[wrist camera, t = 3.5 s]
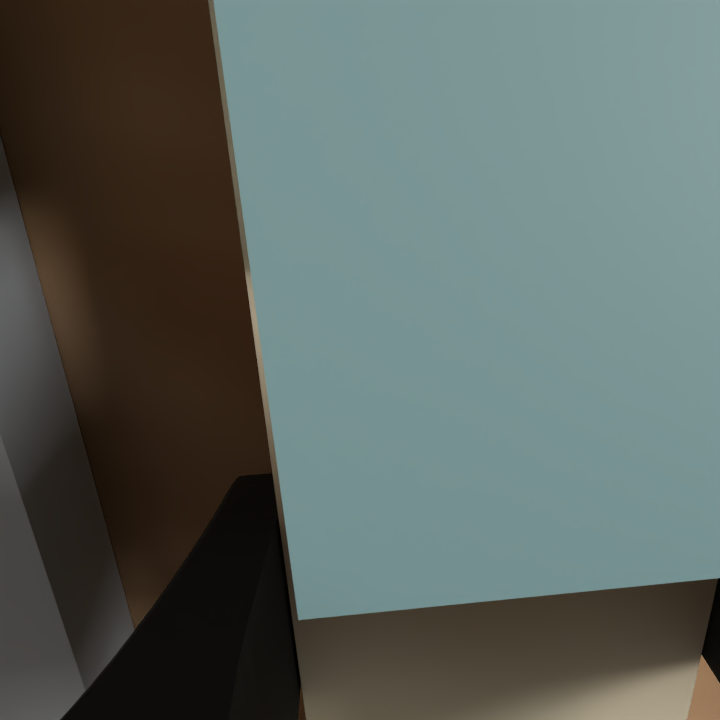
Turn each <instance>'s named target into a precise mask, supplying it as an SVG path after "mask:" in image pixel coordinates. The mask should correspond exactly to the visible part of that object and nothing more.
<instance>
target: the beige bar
mask: <svg viewBox="0 0 720 720" xmlns="http://www.w3.org/2000/svg"><path fill="white" fill-rule="evenodd" d="M208 4H209V11H210V18H211V26H212V33H213V40H214V48H215V55H216V62H217V70H218V77H219V84H220V92H221V99H222V106H223V114H224V121H225V128H226V136H227V143H228V150H229V158H230V165H231V172H232V180H233V187H234V194H235V202H236V209H237V216H238V224H239V231H240V238H241V246H242V253H243V261H244V268H245V275H246V283H247V290H248V297H249V305H250V312H251V319H252V327H253V334H254V341H255V349H256V356H257V363H258V371H259V378H260V385H261V393H262V400H263V407H264V415H265V422H266V429H267V437H268V444H269V451H270V459H271V466H272V473H273V481H274V488H275V495H276V503H277V510H278V517H279V525H280V532H281V539H282V547H283V554H284V561H285V569H286V576H287V583H288V591H289V598H290V605H291V613H292V620H293V628H294V635H295V642H296V650H297V657H298V664H299V672H300V679H301V686H302V694H303V701H304V708H305V716H306V720H687V717H688V712H689V708H690V703H691V699H692V694H693V690H694V685H695V681H696V676H697V672H698V667H699V663H700V658H701V654H702V649H703V645H704V640H705V636H706V631H707V627H708V622H709V618H710V613H711V609H712V604H713V600H714V595H715V591H716V586H717V582H718V578H716V579H705V580H695V581H685V582H675V583H665V584H655V585H645V586H635V587H625V588H615V589H605V590H595V591H585V592H575V593H565V594H555V595H545V596H535V597H525V598H515V599H505V600H495V601H485V602H475V603H465V604H455V605H445V606H435V607H425V608H415V609H405V610H395V611H385V612H375V613H365V614H355V615H345V616H335V617H325V618H315V619H305V620H298V614H297V607H296V599H295V592H294V585H293V577H292V570H291V563H290V556H289V548H288V541H287V534H286V526H285V519H284V512H283V504H282V497H281V490H280V483H279V475H278V468H277V461H276V453H275V446H274V439H273V432H272V424H271V417H270V410H269V402H268V395H267V388H266V380H265V373H264V366H263V359H262V351H261V344H260V337H259V329H258V322H257V315H256V308H255V300H254V293H253V286H252V278H251V271H250V264H249V256H248V249H247V242H246V235H245V227H244V220H243V213H242V205H241V198H240V191H239V184H238V176H237V169H236V162H235V154H234V147H233V140H232V132H231V125H230V118H229V111H228V103H227V96H226V89H225V81H224V74H223V67H222V60H221V52H220V45H219V38H218V30H217V23H216V16H215V8H214V1H213V0H208Z"/></svg>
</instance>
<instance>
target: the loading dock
mask: <svg viewBox="0 0 720 720" xmlns="http://www.w3.org/2000/svg"><path fill="white" fill-rule="evenodd" d="M133 631H134V626H133V623H132V619H131V615H130V612H129V608H128V604H127V601H126V597H125V593H124V590H123V586H122V582H121V579H120V575H119V571H118V567H117V564H116V560H115V556H114V553H113V549H112V545H111V542H110V538H109V534H108V531H107V527H106V523H105V520H104V516H103V512H102V509H101V505H100V501H99V497H98V494H97V490H96V486H95V483H94V479H93V475H92V472H91V468H90V464H89V461H88V457H87V453H86V450H85V446H84V442H83V439H82V435H81V431H80V427H79V424H78V420H77V416H76V413H75V409H74V405H73V402H72V398H71V394H70V391H69V387H68V383H67V380H66V376H65V372H64V369H63V365H62V361H61V357H60V354H59V350H58V346H57V343H56V339H55V335H54V332H53V328H52V324H51V321H50V317H49V313H48V310H47V306H46V302H45V299H44V295H43V291H42V288H41V284H40V280H39V276H38V273H37V269H36V265H35V262H34V258H33V254H32V251H31V247H30V243H29V240H28V236H27V232H26V229H25V225H24V221H23V218H22V214H21V210H20V206H19V203H18V199H17V195H16V192H15V188H14V184H13V181H12V177H11V173H10V170H9V166H8V162H7V159H6V155H5V151H4V148H3V144H2V140H1V136H0V720H60V719H61V718H62V717H63V716H64V715H65V714H66V712H67V711H68V710H69V709H70V708H71V707H72V706H73V705H74V704H75V702H76V701H77V700H78V699H79V698H80V697H81V695H82V694H83V693H84V692H85V691H86V690H87V689H88V687H89V686H90V685H91V684H92V683H93V681H94V680H95V679H96V678H97V677H98V675H99V674H100V673H101V672H102V671H103V669H104V668H105V667H106V666H107V665H108V663H109V662H110V661H111V660H112V659H113V657H114V656H115V655H116V654H117V652H118V651H119V650H120V648H121V647H122V646H123V644H124V643H125V642H126V641H127V639H128V638H129V637H130V635H131V634H132V633H133Z"/></svg>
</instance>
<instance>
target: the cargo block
mask: <svg viewBox="0 0 720 720" xmlns="http://www.w3.org/2000/svg"><path fill="white" fill-rule="evenodd" d="M213 1H214V8H215V16H216V23H217V30H218V38H219V45H220V52H221V60H222V67H223V74H224V81H225V89H226V96H227V103H228V111H229V118H230V125H231V132H232V140H233V147H234V154H235V162H236V169H237V176H238V184H239V191H240V198H241V205H242V213H243V220H244V227H245V235H246V242H247V249H248V256H249V264H250V271H251V278H252V286H253V293H254V300H255V308H256V315H257V322H258V329H259V337H260V344H261V351H262V359H263V366H264V373H265V380H266V388H267V395H268V402H269V410H270V417H271V424H272V432H273V439H274V446H275V453H276V461H277V468H278V475H279V483H280V490H281V497H282V504H283V512H284V519H285V526H286V534H287V541H288V548H289V556H290V563H291V570H292V577H293V585H294V592H295V599H296V607H297V614H298V620H305V619H315V618H325V617H335V616H345V615H355V614H365V613H375V612H385V611H395V610H405V609H415V608H425V607H435V606H445V605H455V604H465V603H475V602H485V601H495V600H505V599H515V598H525V597H535V596H545V595H555V594H565V593H575V592H585V591H595V590H605V589H615V588H625V587H635V586H645V585H655V584H665V583H675V582H685V581H695V580H705V579H716V578H720V0H213Z"/></svg>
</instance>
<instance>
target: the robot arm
mask: <svg viewBox="0 0 720 720" xmlns="http://www.w3.org/2000/svg"><path fill="white" fill-rule="evenodd" d="M702 656H703V657H704V659H705V660H706V662H707V664H708V665H709V667H710V668H711V670H712V671H713V673H714V675H715V676H716V678H717V679H718V681H719V682H720V578H718V582H717V586H716V591H715V595H714V600H713V604H712V609H711V613H710V618H709V622H708V627H707V631H706V636H705V640H704V645H703V649H702ZM300 686H301V679H300V672H299V664H298V657H297V650H296V642H295V635H294V628H293V620H292V613H291V605H290V598H289V591H288V583H287V576H286V569H285V561H284V554H283V547H282V539H281V532H280V525H279V517H278V510H277V503H276V495H275V488H274V481H273V473H271V474H259V475H247V476H239V477H238V478H237V479H236V481H235V482H234V483H233V484H232V485H231V487H230V489H229V491H228V492H227V494H226V496H225V498H224V499H223V501H222V503H221V504H220V506H219V508H218V510H217V511H216V513H215V515H214V516H213V518H212V520H211V521H210V523H209V524H208V526H207V528H206V529H205V531H204V532H203V534H202V535H201V537H200V539H199V540H198V542H197V543H196V545H195V546H194V548H193V549H192V551H191V552H190V554H189V555H188V557H187V558H186V560H185V561H184V563H183V564H182V566H181V567H180V568H179V570H178V571H177V573H176V574H175V576H174V577H173V579H172V580H171V582H170V583H169V585H168V586H167V587H166V589H165V590H164V592H163V593H162V595H161V596H160V597H159V599H158V600H157V601H156V603H155V604H154V605H153V607H152V608H151V609H150V611H149V612H148V613H147V615H146V616H145V617H144V618H143V620H142V621H141V622H140V624H139V625H138V626H137V628H136V629H135V630H134V631H133V633H132V634H131V635H130V637H129V638H128V639H127V641H126V642H125V643H124V644H123V646H122V647H121V648H120V650H119V651H118V652H117V654H116V655H115V656H114V657H113V659H112V660H111V661H110V662H109V663H108V665H107V666H106V667H105V668H104V669H103V671H102V672H101V673H100V674H99V675H98V677H97V678H96V679H95V680H94V681H93V683H92V684H91V685H90V686H89V687H88V689H87V690H86V691H85V692H84V693H83V694H82V695H81V697H80V698H79V699H78V700H77V701H76V702H75V704H74V705H73V706H72V707H71V708H70V709H69V710H68V711H67V712H66V714H65V715H64V716H63V717H62V718H61V719H60V720H298V709H299V697H300Z"/></svg>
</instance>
